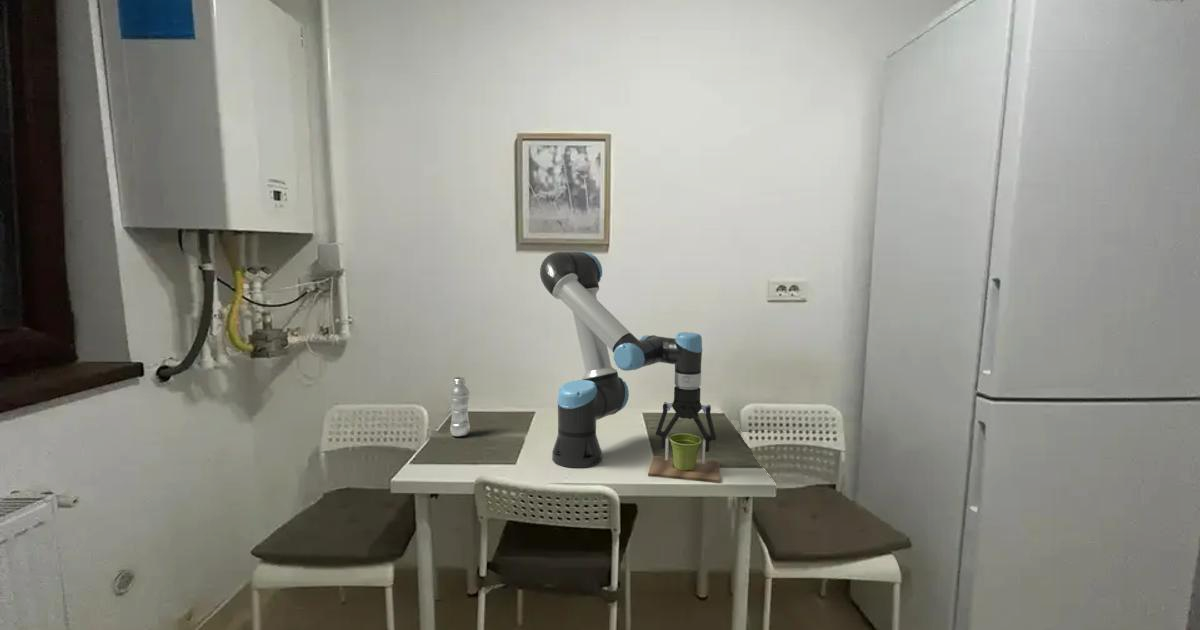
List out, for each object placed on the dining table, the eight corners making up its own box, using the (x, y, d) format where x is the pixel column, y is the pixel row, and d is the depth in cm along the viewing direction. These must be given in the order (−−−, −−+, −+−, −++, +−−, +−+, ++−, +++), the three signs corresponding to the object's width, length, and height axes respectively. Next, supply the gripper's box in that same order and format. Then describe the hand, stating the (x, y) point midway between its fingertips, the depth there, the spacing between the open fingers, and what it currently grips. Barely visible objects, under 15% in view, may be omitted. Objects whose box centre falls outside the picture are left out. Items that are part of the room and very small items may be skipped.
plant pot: (705, 465, 169) (706, 437, 168) (693, 476, 161) (694, 446, 160) (676, 459, 174) (676, 431, 173) (663, 469, 166) (664, 440, 165)
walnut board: (647, 475, 163) (648, 473, 162) (653, 458, 176) (653, 455, 176) (719, 482, 158) (719, 480, 158) (719, 464, 172) (719, 461, 172)
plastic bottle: (446, 437, 192) (445, 379, 190) (457, 431, 199) (456, 375, 196) (463, 439, 191) (462, 381, 188) (473, 433, 197) (472, 376, 195)
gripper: (646, 387, 163) (645, 461, 166) (727, 392, 158) (724, 468, 161) (650, 380, 170) (648, 452, 173) (727, 385, 166) (724, 459, 168)
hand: (684, 460), depth 167 cm, fingers open, 10 cm apart
